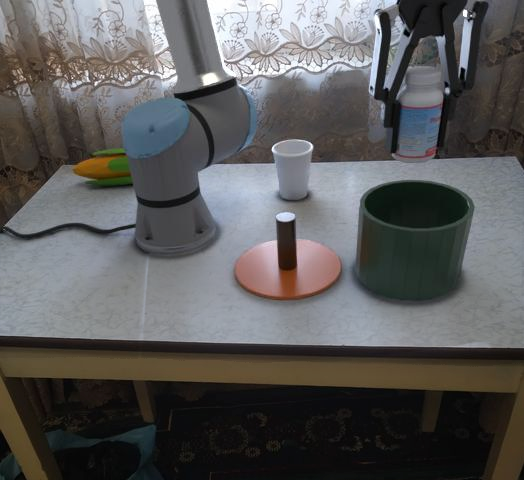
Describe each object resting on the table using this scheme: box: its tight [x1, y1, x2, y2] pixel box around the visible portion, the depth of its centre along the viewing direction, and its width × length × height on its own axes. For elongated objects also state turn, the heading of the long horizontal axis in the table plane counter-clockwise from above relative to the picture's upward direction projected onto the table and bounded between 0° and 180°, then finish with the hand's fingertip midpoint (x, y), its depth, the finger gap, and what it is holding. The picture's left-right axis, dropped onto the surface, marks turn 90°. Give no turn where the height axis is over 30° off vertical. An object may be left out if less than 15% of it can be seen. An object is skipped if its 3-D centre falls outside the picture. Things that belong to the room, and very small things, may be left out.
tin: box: [354, 179, 476, 302], centre depth 83 cm, size 17×17×12 cm
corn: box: [71, 147, 133, 187], centre depth 120 cm, size 7×8×20 cm
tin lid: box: [234, 211, 342, 301], centre depth 86 cm, size 18×18×10 cm
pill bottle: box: [391, 65, 444, 164], centre depth 72 cm, size 6×6×11 cm
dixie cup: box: [271, 139, 314, 201], centre depth 108 cm, size 8×8×10 cm
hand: (413, 146), depth 74 cm, fingers closed on pill bottle, 6 cm apart
